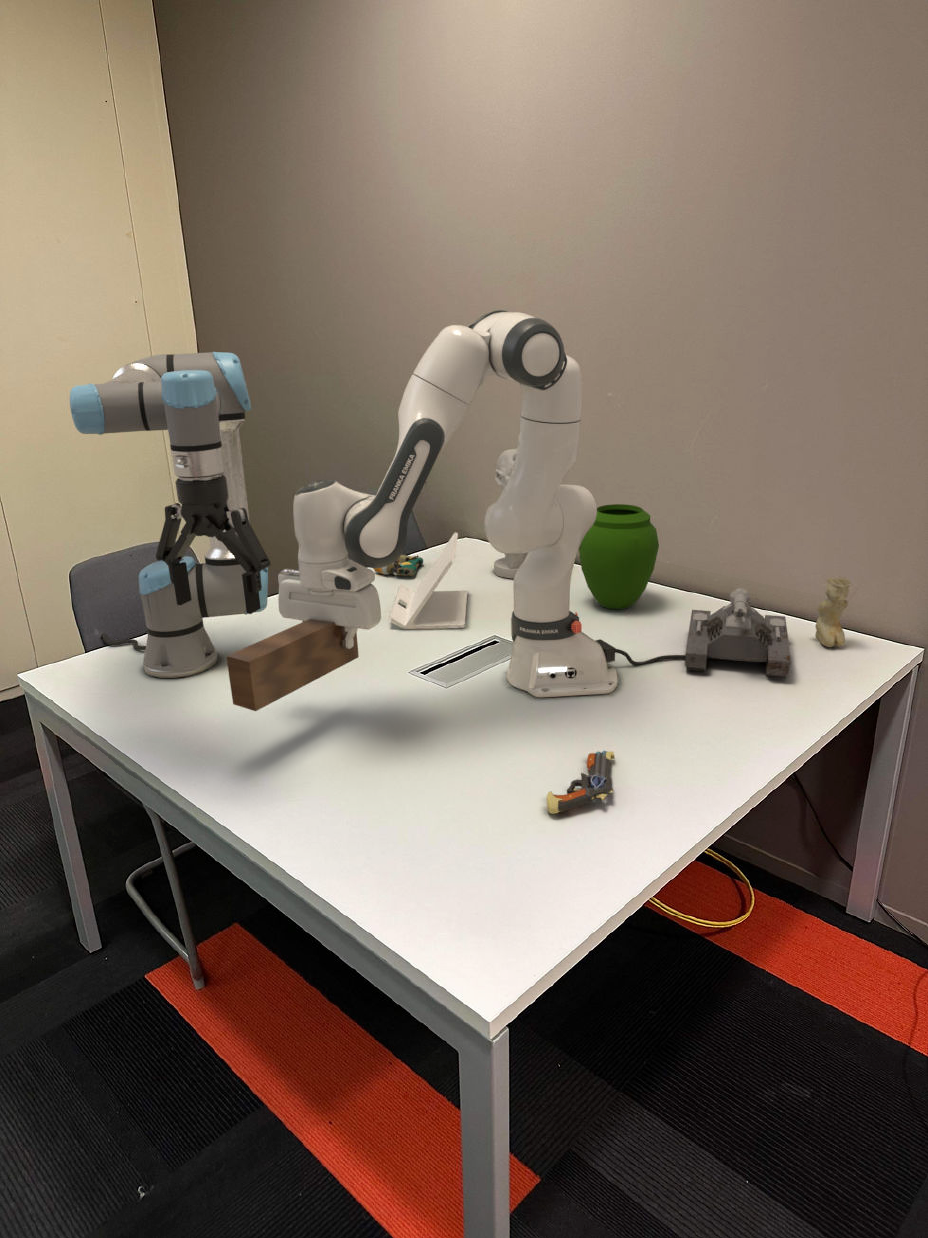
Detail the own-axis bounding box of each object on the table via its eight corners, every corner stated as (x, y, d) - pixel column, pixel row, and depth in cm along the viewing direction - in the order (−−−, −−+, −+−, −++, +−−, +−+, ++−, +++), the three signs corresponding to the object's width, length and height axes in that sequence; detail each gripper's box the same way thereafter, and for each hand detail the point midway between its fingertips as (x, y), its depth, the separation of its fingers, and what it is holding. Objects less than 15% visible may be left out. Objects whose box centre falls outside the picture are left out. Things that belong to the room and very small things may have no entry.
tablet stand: (467, 593, 225) (465, 531, 219) (465, 628, 202) (462, 559, 196) (399, 594, 226) (395, 532, 220) (388, 629, 203) (384, 560, 197)
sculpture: (821, 649, 184) (830, 583, 179) (808, 637, 191) (816, 573, 185) (848, 649, 184) (858, 582, 179) (834, 636, 191) (843, 572, 185)
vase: (599, 587, 227) (601, 497, 218) (668, 600, 216) (673, 505, 208) (562, 608, 212) (564, 513, 204) (634, 623, 202) (639, 523, 193)
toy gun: (544, 802, 127) (611, 800, 125) (554, 748, 145) (614, 745, 143) (546, 819, 128) (613, 817, 126) (556, 762, 146) (615, 760, 144)
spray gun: (392, 561, 257) (437, 568, 251) (363, 574, 243) (410, 581, 237) (392, 547, 256) (437, 554, 250) (363, 559, 241) (410, 566, 236)
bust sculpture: (503, 593, 225) (502, 460, 212) (483, 567, 247) (480, 445, 234) (562, 587, 228) (563, 456, 215) (536, 562, 250) (536, 441, 237)
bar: (337, 652, 162) (333, 608, 159) (358, 657, 159) (355, 613, 156) (233, 704, 142) (225, 655, 139) (255, 711, 139) (249, 662, 136)
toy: (690, 629, 197) (694, 567, 192) (782, 637, 191) (789, 573, 186) (684, 674, 174) (688, 605, 169) (788, 683, 169) (796, 612, 163)
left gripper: (118, 476, 132) (141, 606, 139) (254, 485, 123) (270, 623, 130) (152, 467, 138) (172, 592, 145) (283, 475, 129) (297, 607, 137)
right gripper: (266, 572, 153) (275, 643, 158) (363, 583, 145) (369, 658, 149) (287, 562, 159) (296, 632, 163) (382, 572, 150) (388, 645, 155)
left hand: (218, 607), depth 138 cm, fingers open, 13 cm apart
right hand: (332, 644), depth 156 cm, fingers closed on bar, 5 cm apart
